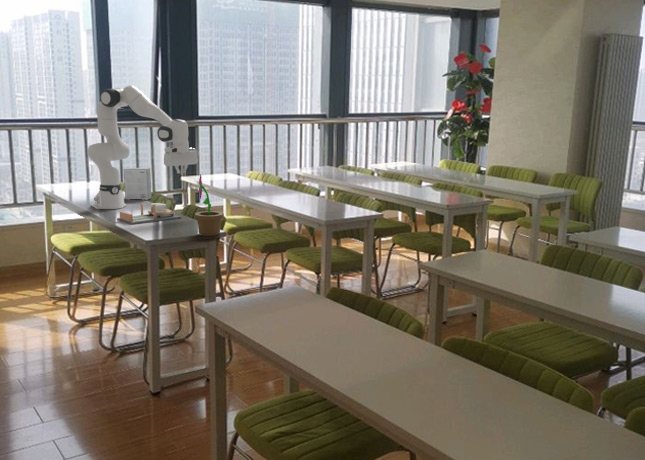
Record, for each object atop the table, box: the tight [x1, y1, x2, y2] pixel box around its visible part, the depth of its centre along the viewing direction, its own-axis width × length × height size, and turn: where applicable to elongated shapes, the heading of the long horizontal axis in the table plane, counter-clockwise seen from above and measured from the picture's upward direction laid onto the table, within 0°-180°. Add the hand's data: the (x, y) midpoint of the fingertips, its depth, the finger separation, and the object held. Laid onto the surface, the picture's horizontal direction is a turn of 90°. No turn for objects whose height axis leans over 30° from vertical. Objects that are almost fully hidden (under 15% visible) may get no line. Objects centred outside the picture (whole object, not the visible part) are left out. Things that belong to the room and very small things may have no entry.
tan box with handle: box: [147, 195, 176, 217], centre depth 395 cm, size 10×11×10 cm
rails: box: [132, 213, 176, 221], centre depth 392 cm, size 8×28×1 cm, turn 132°
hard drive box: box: [123, 167, 152, 201], centre depth 457 cm, size 16×8×20 cm, turn 84°
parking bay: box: [119, 202, 156, 222], centre depth 386 cm, size 16×15×7 cm
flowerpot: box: [194, 173, 224, 237], centre depth 353 cm, size 14×14×30 cm
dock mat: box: [116, 214, 182, 226], centre depth 392 cm, size 17×30×1 cm, turn 132°
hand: (181, 173), depth 401 cm, fingers closed
